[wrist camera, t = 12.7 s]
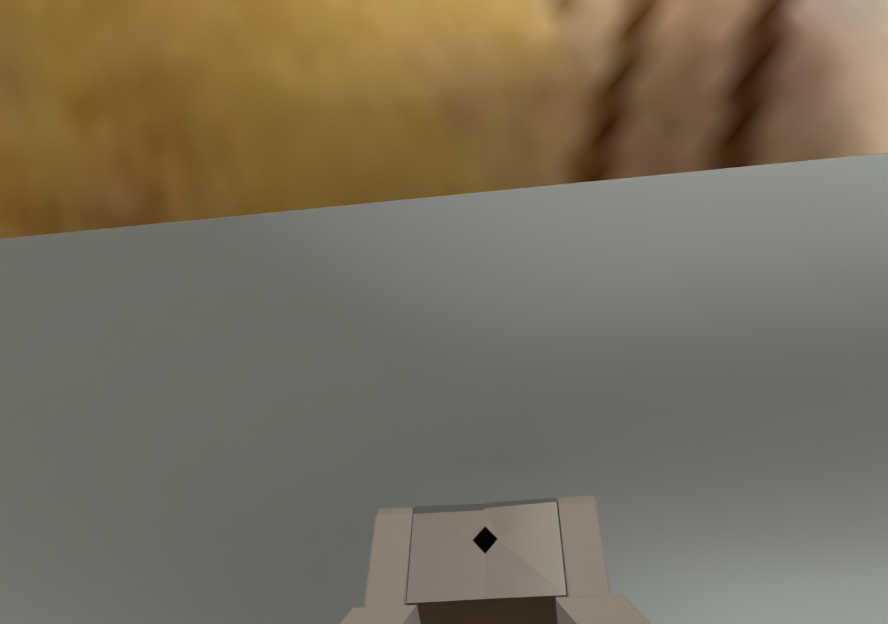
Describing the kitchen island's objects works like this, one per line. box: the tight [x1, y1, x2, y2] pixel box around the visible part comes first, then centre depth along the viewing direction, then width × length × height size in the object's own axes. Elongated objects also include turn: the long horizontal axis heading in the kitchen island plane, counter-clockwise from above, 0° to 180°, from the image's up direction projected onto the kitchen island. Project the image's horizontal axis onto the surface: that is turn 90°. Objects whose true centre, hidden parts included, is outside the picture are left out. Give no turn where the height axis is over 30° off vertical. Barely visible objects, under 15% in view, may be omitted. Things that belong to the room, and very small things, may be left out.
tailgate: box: [0, 153, 888, 624], centre depth 14 cm, size 2×19×11 cm
